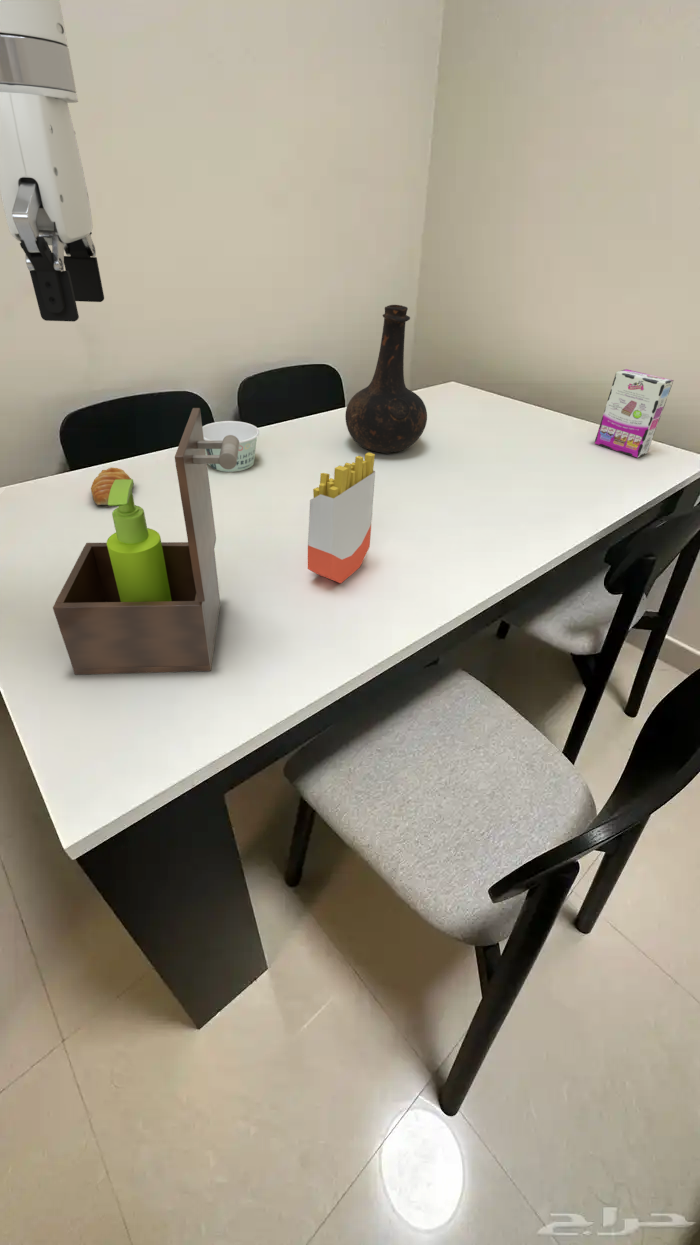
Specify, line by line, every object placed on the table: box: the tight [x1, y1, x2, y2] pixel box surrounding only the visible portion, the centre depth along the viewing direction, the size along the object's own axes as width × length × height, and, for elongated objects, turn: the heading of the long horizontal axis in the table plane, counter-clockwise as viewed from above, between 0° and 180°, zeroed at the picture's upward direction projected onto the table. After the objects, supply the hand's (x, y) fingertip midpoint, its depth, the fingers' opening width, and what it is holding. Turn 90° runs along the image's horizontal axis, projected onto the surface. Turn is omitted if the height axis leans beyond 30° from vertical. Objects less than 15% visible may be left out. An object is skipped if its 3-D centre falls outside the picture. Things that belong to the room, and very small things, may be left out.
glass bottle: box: [345, 304, 428, 454], centre depth 122 cm, size 18×18×28 cm
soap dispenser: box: [106, 478, 172, 602], centre depth 68 cm, size 6×7×20 cm
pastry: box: [90, 467, 132, 506], centre depth 104 cm, size 9×7×4 cm
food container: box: [202, 420, 260, 473], centre depth 117 cm, size 12×12×6 cm
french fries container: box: [307, 451, 376, 584], centre depth 83 cm, size 5×11×18 cm, turn 148°
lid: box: [174, 407, 239, 602], centre depth 64 cm, size 17×14×5 cm
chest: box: [52, 541, 221, 675], centre depth 72 cm, size 16×14×10 cm
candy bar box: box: [594, 368, 675, 459], centre depth 131 cm, size 11×5×16 cm, turn 42°
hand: (75, 310), depth 58 cm, fingers open, 9 cm apart
